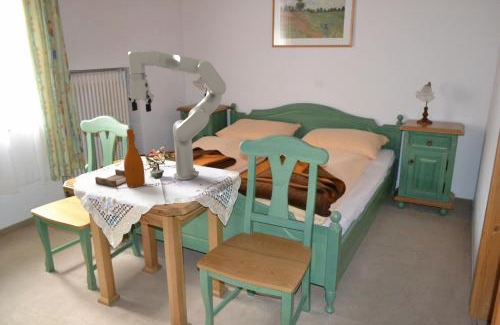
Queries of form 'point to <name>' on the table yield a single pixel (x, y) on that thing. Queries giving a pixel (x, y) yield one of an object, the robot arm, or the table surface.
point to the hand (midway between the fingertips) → (141, 110)
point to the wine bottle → (133, 164)
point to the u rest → (112, 179)
